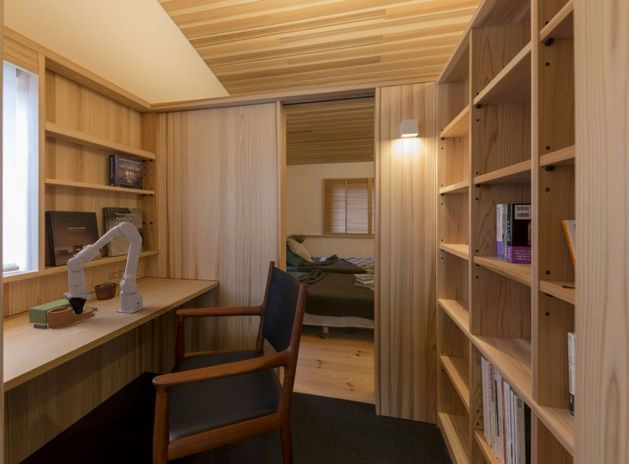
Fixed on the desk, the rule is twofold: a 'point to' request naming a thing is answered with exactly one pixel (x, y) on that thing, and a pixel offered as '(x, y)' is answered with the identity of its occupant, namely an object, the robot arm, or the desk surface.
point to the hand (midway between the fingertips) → (78, 313)
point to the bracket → (66, 316)
